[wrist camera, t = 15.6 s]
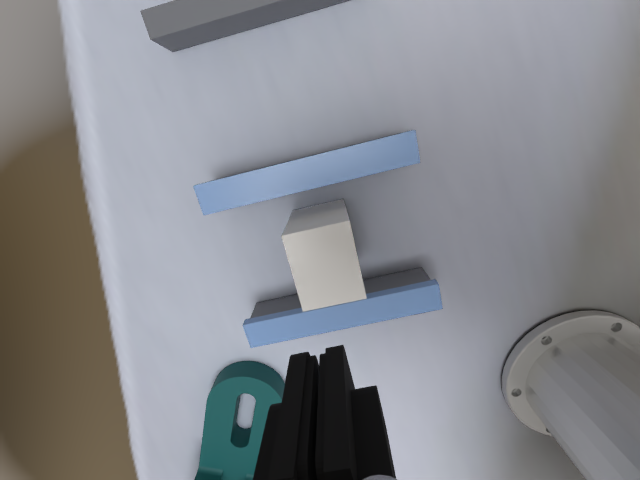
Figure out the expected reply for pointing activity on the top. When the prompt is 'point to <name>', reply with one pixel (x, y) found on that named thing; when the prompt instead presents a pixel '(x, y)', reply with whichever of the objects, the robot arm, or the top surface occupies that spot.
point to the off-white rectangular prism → (323, 256)
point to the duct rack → (296, 177)
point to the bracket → (220, 421)
